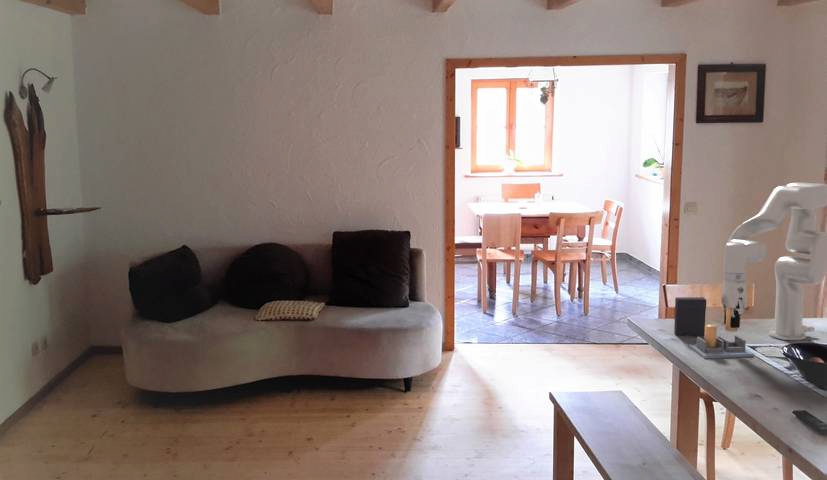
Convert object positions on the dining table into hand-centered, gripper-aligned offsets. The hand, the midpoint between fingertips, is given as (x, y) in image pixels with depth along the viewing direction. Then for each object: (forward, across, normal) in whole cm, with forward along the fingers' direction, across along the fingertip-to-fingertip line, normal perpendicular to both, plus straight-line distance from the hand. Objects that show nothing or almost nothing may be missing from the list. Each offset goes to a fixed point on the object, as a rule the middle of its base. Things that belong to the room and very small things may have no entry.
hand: (731, 325), depth 255 cm
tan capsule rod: (+2, 0, 0) cm, 2 cm away
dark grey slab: (+10, +22, +6) cm, 25 cm away
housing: (+10, 0, +4) cm, 11 cm away
